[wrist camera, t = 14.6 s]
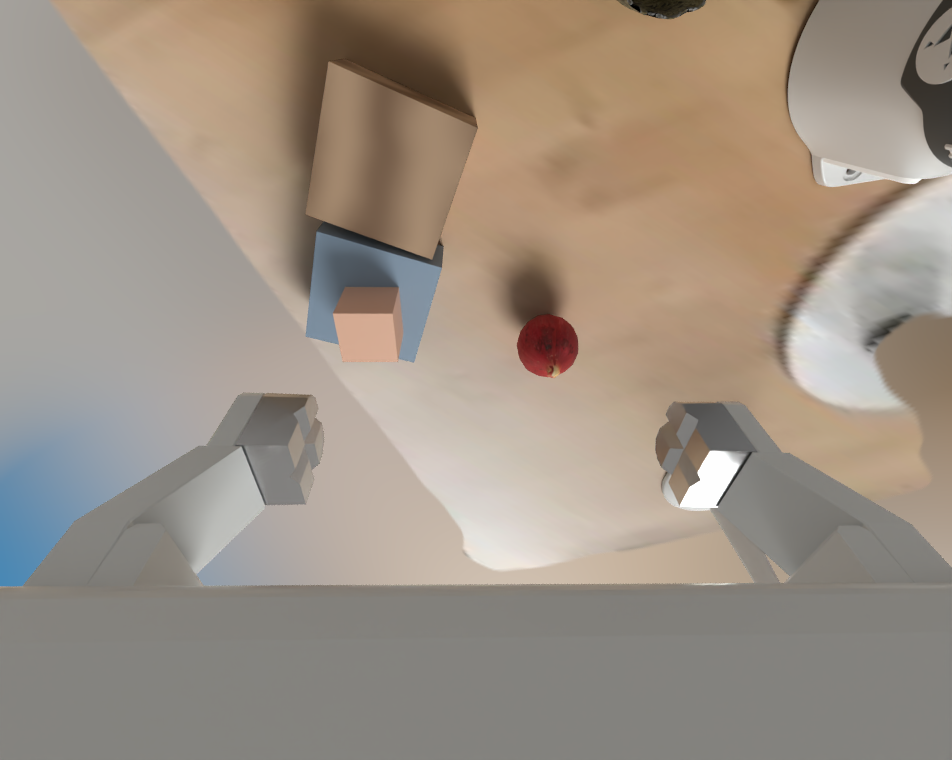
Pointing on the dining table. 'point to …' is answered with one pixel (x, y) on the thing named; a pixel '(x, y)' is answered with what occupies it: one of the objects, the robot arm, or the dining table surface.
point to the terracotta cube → (369, 324)
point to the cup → (663, 7)
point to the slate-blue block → (369, 281)
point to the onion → (547, 345)
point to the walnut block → (386, 159)
